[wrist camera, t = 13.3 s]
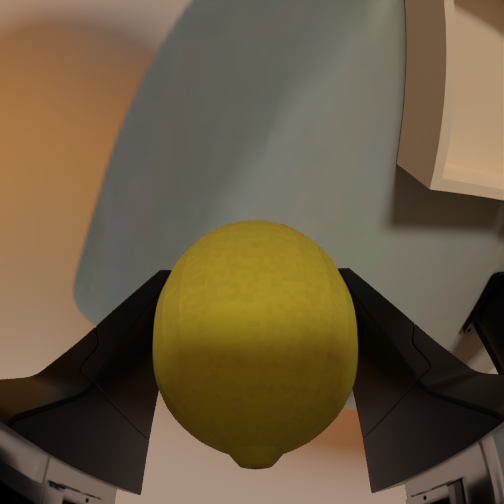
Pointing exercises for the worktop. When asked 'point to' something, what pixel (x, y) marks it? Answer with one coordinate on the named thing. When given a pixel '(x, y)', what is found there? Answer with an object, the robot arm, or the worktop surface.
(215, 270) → the lemon
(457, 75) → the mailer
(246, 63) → the worktop surface
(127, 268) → the worktop surface
